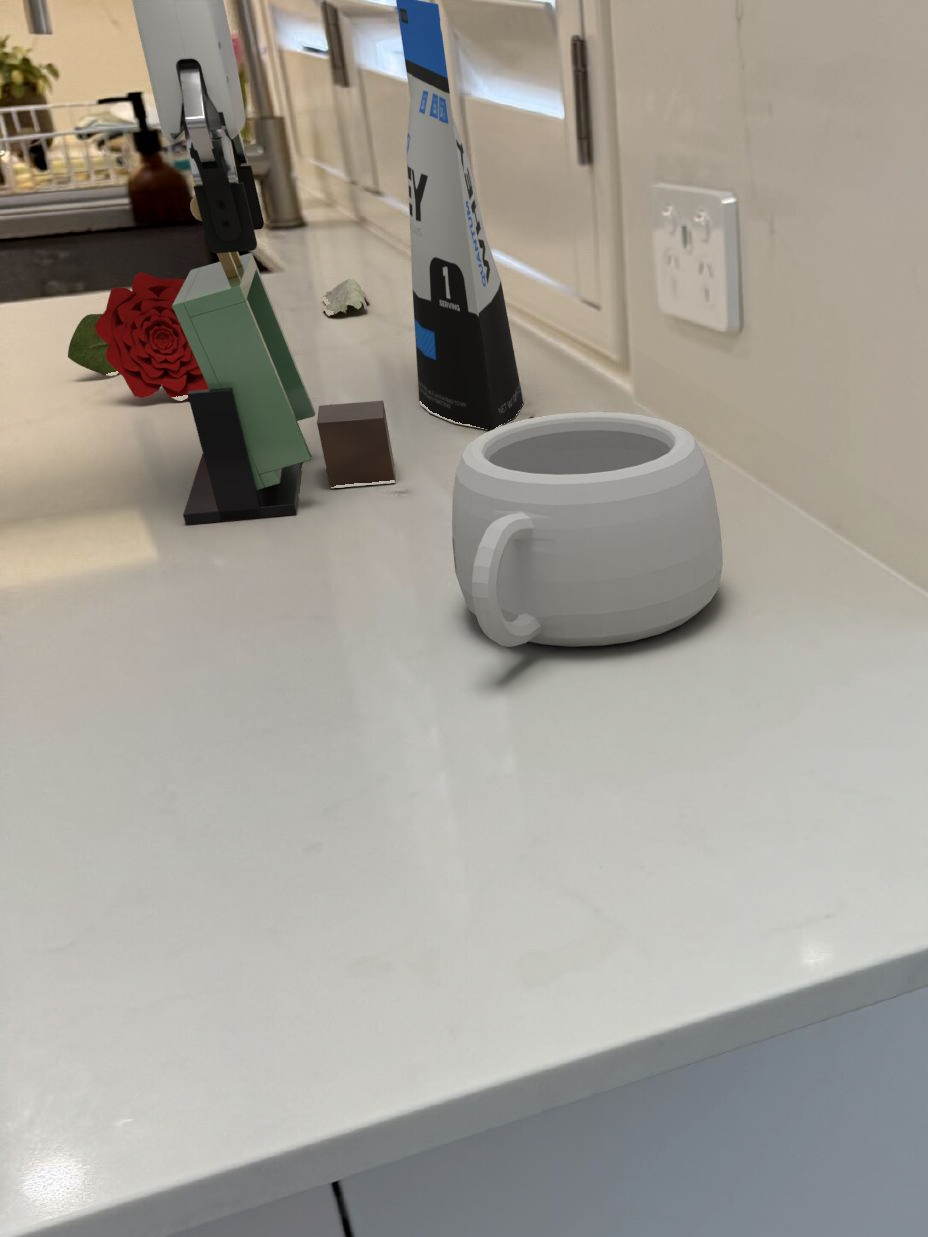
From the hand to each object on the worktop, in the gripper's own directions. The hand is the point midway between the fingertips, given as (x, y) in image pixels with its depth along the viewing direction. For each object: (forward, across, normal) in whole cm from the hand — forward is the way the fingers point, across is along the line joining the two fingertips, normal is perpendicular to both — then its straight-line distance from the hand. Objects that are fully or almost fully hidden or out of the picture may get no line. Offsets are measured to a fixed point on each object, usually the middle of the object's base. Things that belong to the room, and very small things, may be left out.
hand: (238, 238), depth 96 cm
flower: (+18, -42, -16) cm, 48 cm away
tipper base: (+17, 0, -4) cm, 18 cm away
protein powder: (+18, -21, +15) cm, 31 cm away
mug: (+17, +33, +18) cm, 42 cm away
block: (+12, 0, +5) cm, 13 cm away
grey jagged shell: (+18, -66, +3) cm, 68 cm away
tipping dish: (+7, 0, -4) cm, 8 cm away
